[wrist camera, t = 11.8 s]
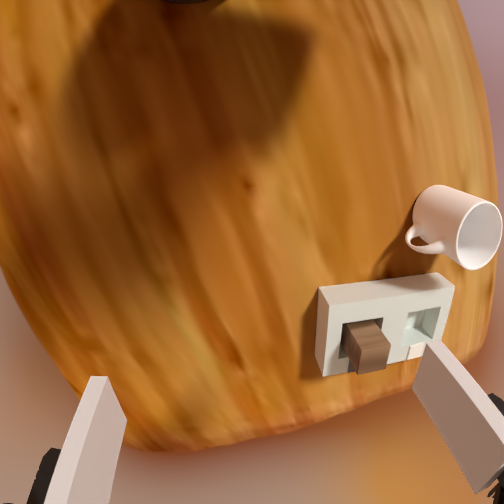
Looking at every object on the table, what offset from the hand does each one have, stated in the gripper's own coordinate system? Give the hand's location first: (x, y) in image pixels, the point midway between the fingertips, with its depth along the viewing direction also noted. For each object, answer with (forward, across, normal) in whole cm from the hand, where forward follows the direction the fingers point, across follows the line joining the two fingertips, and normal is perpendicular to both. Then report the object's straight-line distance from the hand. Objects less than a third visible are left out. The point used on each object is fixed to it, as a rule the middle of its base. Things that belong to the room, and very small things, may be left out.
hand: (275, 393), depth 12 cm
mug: (+29, +26, -2) cm, 39 cm away
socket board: (+29, +20, -17) cm, 39 cm away
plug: (+28, +15, -17) cm, 36 cm away
